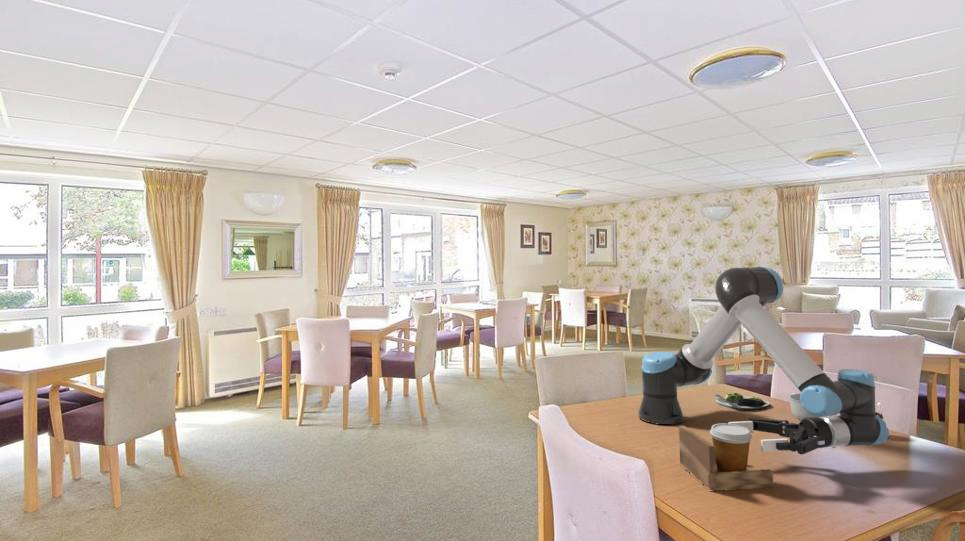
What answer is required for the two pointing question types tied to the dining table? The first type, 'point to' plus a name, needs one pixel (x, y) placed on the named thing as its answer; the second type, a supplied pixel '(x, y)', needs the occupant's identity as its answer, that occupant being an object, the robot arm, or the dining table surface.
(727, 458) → the disposable coffee cup
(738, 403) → the salad plate
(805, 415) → the teacup
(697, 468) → the cradle
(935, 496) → the dining table surface
